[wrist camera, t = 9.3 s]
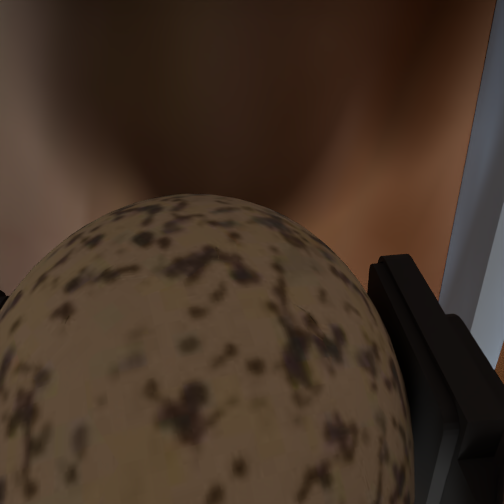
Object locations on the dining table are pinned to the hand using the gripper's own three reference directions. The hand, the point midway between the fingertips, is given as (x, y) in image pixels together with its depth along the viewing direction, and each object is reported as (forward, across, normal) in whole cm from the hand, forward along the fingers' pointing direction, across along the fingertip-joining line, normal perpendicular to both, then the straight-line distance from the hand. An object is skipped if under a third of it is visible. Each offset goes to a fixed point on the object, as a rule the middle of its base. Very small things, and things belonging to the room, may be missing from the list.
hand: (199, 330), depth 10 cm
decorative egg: (+3, 0, 0) cm, 3 cm away
